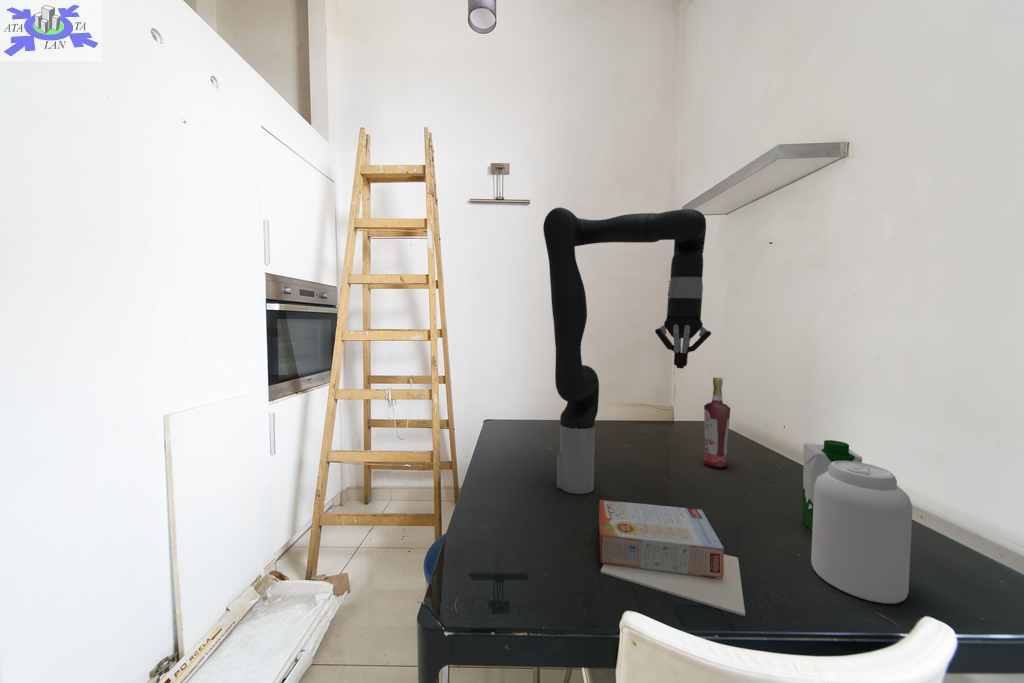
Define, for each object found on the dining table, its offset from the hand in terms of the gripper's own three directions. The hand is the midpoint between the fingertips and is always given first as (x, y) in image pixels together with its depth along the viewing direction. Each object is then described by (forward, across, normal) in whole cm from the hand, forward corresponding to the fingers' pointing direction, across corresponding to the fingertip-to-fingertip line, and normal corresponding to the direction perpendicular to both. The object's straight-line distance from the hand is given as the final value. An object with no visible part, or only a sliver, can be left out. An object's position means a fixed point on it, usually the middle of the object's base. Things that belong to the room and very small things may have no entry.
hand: (680, 367), depth 94 cm
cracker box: (+30, +9, +29) cm, 43 cm away
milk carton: (+33, -31, -2) cm, 45 cm away
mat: (+33, -5, +29) cm, 44 cm away
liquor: (+35, -8, -34) cm, 49 cm away
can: (+32, -33, +16) cm, 48 cm away
